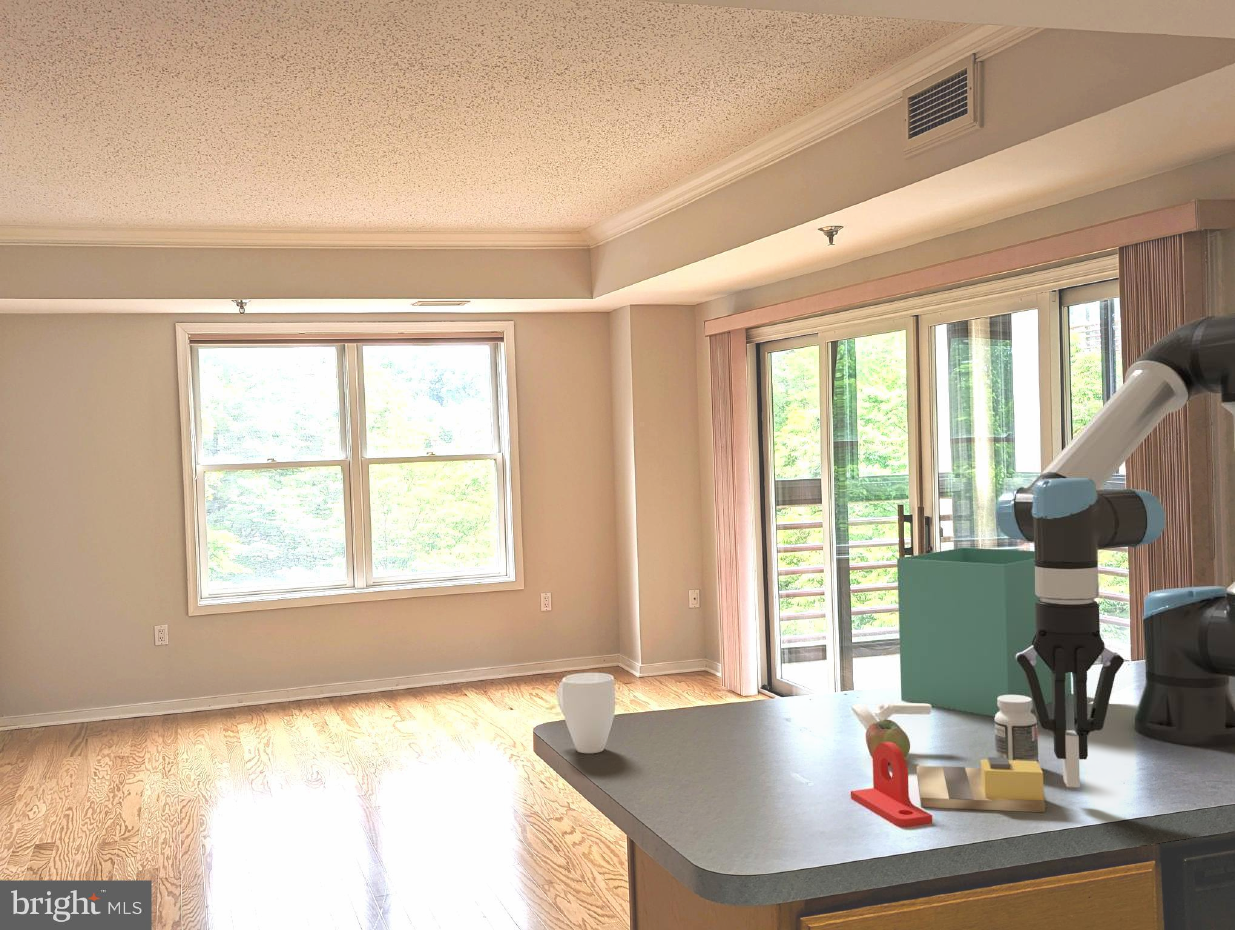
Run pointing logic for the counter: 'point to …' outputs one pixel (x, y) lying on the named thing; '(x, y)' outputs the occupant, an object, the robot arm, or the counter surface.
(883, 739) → the apple
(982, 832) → the counter surface
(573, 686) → the mug
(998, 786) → the block
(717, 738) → the counter surface
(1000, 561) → the box
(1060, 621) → the robot arm
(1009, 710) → the pill bottle
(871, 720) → the hook
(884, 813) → the bracket
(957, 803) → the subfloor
